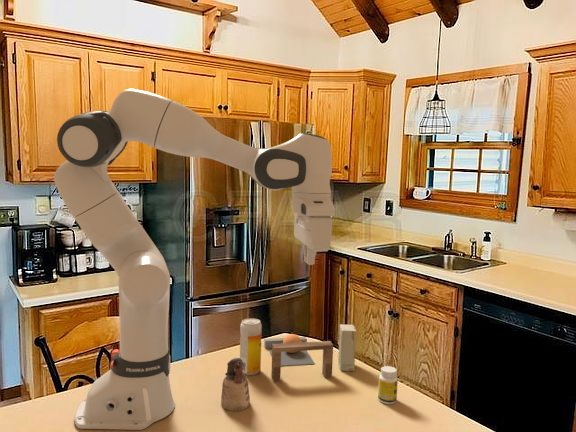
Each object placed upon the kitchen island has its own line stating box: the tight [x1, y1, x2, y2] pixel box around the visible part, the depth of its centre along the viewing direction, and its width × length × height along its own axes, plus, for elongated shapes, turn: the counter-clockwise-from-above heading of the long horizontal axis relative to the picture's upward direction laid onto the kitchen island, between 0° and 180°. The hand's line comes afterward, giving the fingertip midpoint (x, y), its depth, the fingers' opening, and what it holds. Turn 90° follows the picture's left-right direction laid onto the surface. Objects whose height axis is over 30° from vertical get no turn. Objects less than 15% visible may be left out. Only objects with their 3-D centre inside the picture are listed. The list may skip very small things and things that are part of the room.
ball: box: [283, 333, 301, 353], centre depth 151 cm, size 6×6×6 cm
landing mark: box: [268, 349, 315, 367], centre depth 147 cm, size 12×12×1 cm
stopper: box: [263, 336, 308, 350], centre depth 156 cm, size 14×2×2 cm, turn 102°
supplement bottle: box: [377, 365, 399, 405], centre depth 122 cm, size 5×5×8 cm
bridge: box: [270, 340, 334, 382], centre depth 133 cm, size 3×17×10 cm, turn 102°
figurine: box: [220, 357, 251, 412], centre depth 117 cm, size 7×7×12 cm
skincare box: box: [338, 323, 357, 372], centre depth 141 cm, size 6×4×12 cm
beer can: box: [239, 317, 263, 376], centre depth 136 cm, size 6×6×15 cm
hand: (309, 263), depth 110 cm, fingers closed
